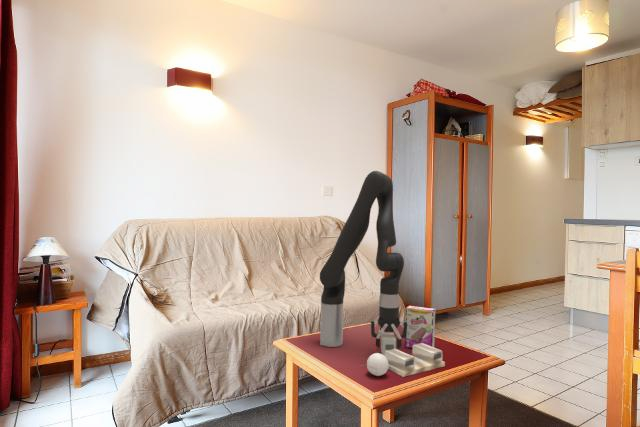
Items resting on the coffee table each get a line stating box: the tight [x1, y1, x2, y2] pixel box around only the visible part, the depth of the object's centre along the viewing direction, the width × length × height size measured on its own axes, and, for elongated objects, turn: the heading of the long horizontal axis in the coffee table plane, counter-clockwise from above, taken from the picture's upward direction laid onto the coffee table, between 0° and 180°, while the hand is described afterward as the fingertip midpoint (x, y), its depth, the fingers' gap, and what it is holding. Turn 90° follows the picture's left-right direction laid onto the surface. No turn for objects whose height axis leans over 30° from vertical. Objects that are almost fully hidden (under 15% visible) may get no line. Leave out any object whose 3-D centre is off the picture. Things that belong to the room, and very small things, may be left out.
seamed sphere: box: [360, 352, 389, 377], centre depth 141 cm, size 10×7×7 cm
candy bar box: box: [404, 305, 436, 349], centre depth 169 cm, size 11×5×16 cm, turn 65°
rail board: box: [385, 343, 446, 378], centre depth 149 cm, size 20×11×6 cm, turn 121°
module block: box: [380, 332, 397, 356], centre depth 159 cm, size 4×8×8 cm, turn 177°
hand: (388, 348), depth 159 cm, fingers open, 7 cm apart
